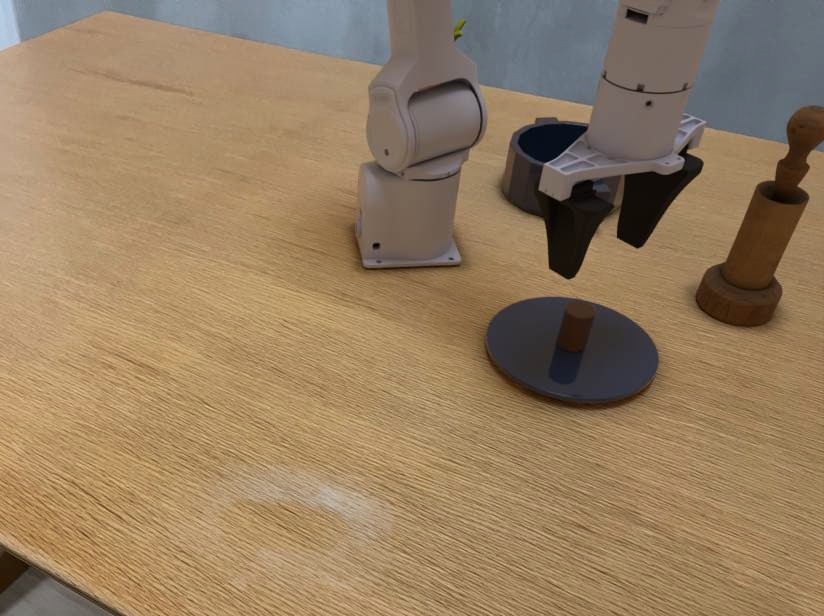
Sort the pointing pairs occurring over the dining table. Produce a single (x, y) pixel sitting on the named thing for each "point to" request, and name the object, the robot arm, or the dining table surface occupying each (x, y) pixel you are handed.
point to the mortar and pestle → (764, 233)
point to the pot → (541, 147)
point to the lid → (572, 349)
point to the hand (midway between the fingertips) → (596, 257)
